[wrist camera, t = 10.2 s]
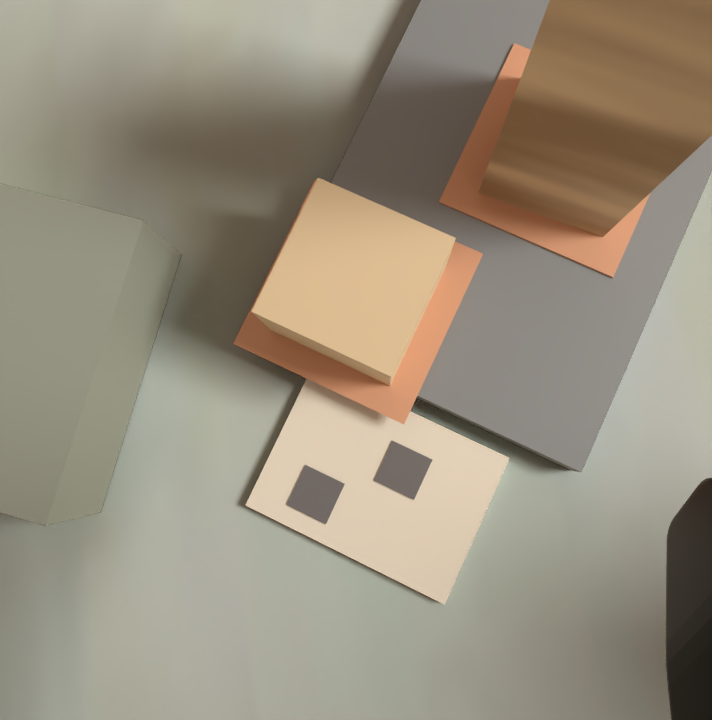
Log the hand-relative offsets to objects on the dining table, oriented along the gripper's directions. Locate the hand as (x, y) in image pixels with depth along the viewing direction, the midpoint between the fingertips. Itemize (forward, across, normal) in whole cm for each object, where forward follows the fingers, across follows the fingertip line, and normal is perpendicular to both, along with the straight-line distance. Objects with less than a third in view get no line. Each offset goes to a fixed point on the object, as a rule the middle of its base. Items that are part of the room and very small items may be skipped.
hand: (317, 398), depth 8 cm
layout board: (+15, -3, +4) cm, 16 cm away
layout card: (+8, -1, +11) cm, 14 cm away
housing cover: (+9, +11, +10) cm, 18 cm away
